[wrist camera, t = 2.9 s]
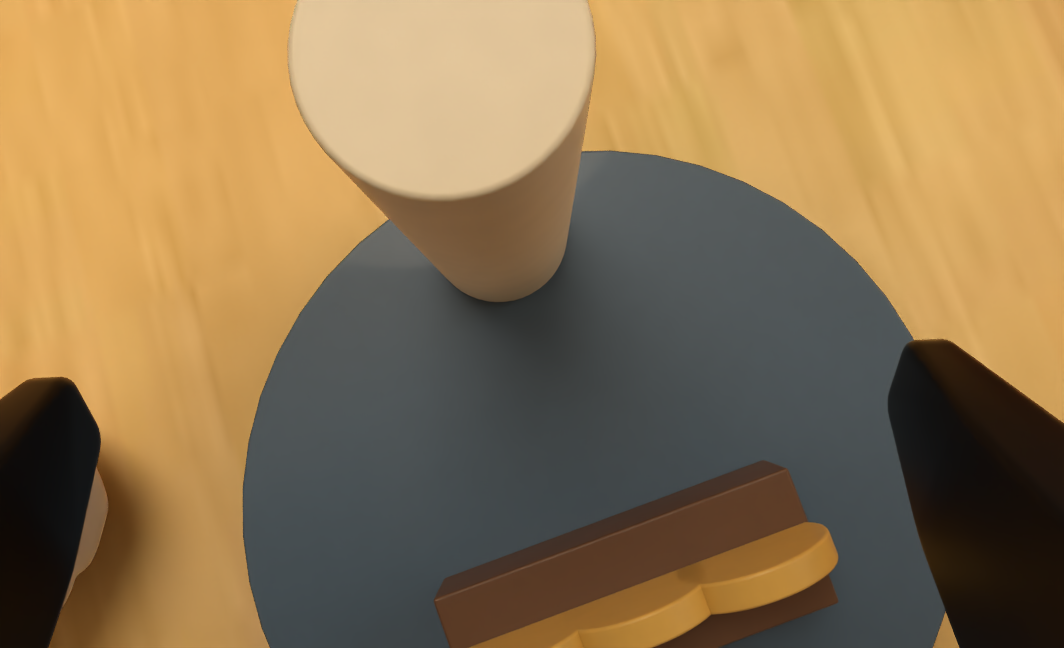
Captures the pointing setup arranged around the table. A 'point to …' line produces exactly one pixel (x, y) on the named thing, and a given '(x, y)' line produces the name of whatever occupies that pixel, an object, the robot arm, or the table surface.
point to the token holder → (565, 376)
